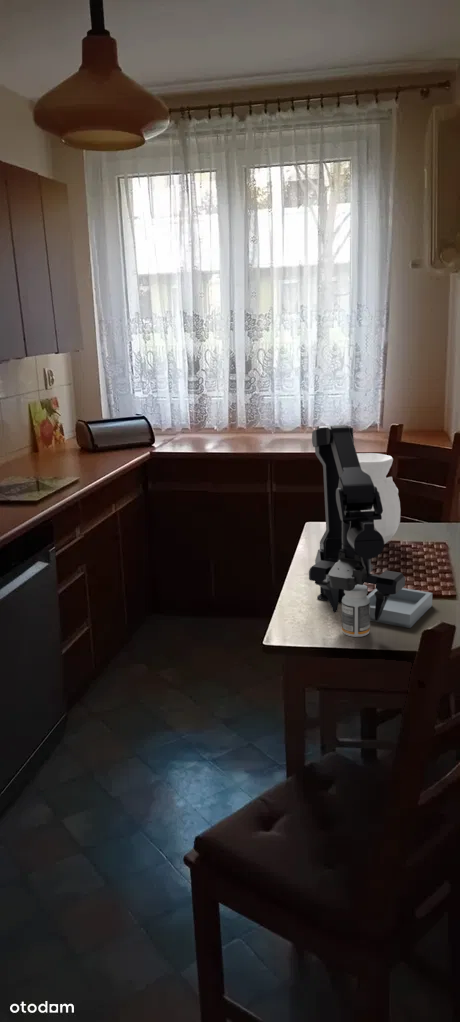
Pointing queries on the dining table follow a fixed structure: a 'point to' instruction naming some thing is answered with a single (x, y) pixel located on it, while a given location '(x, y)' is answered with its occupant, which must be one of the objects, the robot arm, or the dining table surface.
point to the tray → (402, 607)
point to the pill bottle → (356, 612)
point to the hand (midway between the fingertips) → (355, 616)
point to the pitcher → (383, 492)
